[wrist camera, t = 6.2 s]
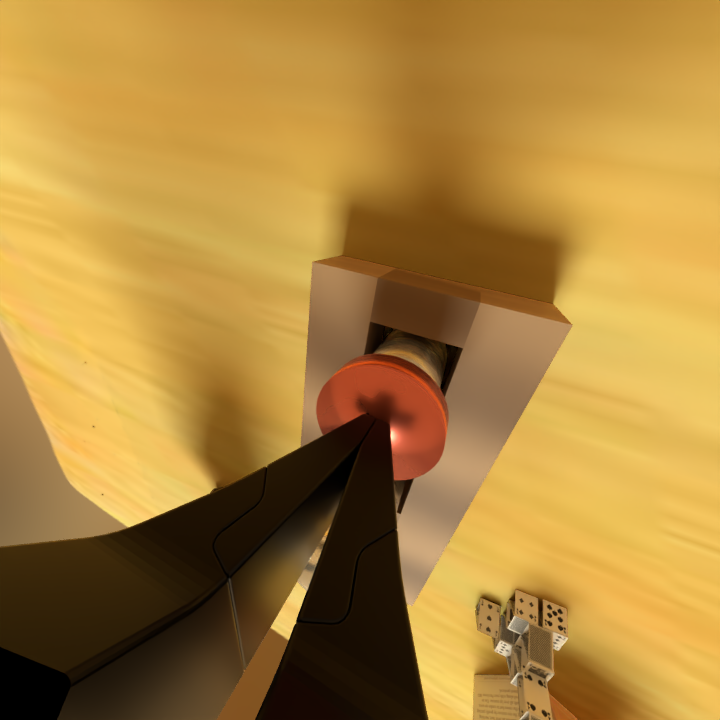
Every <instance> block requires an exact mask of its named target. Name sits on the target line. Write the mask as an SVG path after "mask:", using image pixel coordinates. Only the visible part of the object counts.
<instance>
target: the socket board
mask: <svg viewBox="0 0 720 720" xmlns="http://www.w3.org/2000/svg"><path fill="white" fill-rule="evenodd" d="M385 326H387V327H391V328H394V329H398V330H401V331H405V332H408V333H412V334H415V335H419V336H422V337H425V338H429V339H432V340H436V341H439V342H443V343H446V344H450V345H453V346H457V347H458V350H457V353H456V356H455V358H454V361H453V364H452V367H451V369H450V372H449V375H448V377H447V380H446V383H445V386H444V388H443V391H442V393H443V395H444V397H445V400H446V402H447V406H448V411H449V422H448V429H447V435H446V441H445V447H444V451H443V454H442V456H441V458H440V460H439V462H438V463H437V464H436V465H435V467H433V468H432V469H431V470H430V471H429V472H427V473H425V474H424V475H421V476H419V477H417V478H413V479H408V480H406V482H405V485H404V489H403V492H402V495H401V499H400V502H399V505H398V509H397V512H396V514H397V531H398V539H399V551H400V561H401V571H402V579H403V585H404V591H405V597H406V603H407V604H409V605H411V606H413V604H414V602H415V600H416V599H417V597H418V595H419V593H420V592H421V590H422V588H423V586H424V585H425V583H426V581H427V579H428V578H429V576H430V574H431V572H432V571H433V569H434V567H435V565H436V564H437V562H438V560H439V558H440V557H441V555H442V553H443V551H444V550H445V548H446V546H447V544H448V543H449V541H450V539H451V537H452V536H453V534H454V532H455V530H456V529H457V527H458V525H459V523H460V522H461V520H462V518H463V516H464V514H465V513H466V511H467V509H468V507H469V506H470V504H471V502H472V500H473V499H474V497H475V495H476V493H477V492H478V490H479V488H480V486H481V485H482V483H483V481H484V479H485V478H486V476H487V474H488V472H489V471H490V469H491V467H492V465H493V464H494V462H495V460H496V458H497V457H498V455H499V453H500V451H501V450H502V448H503V446H504V444H505V443H506V441H507V439H508V437H509V436H510V434H511V432H512V430H513V429H514V427H515V425H516V423H517V422H518V420H519V418H520V416H521V415H522V413H523V411H524V409H525V408H526V406H527V404H528V402H529V401H530V399H531V397H532V395H533V394H534V392H535V390H536V388H537V387H538V385H539V383H540V381H541V380H542V378H543V376H544V374H545V373H546V371H547V369H548V367H549V366H550V364H551V362H552V360H553V358H554V357H555V355H556V353H557V351H558V350H559V348H560V346H561V344H562V343H563V341H564V339H565V337H566V336H567V334H568V332H569V330H570V329H571V327H572V324H571V323H570V322H569V321H568V320H567V319H566V317H565V316H564V315H563V314H562V313H561V312H560V311H559V310H558V309H557V308H556V307H555V306H554V305H553V304H551V303H547V302H543V301H538V300H534V299H530V298H525V297H521V296H516V295H512V294H508V293H503V292H499V291H495V290H490V289H486V288H482V287H477V286H473V285H468V284H464V283H460V282H455V281H451V280H447V279H442V278H438V277H434V276H429V275H425V274H421V273H416V272H412V271H407V270H403V269H399V268H394V267H390V266H386V265H381V264H377V263H373V262H368V261H364V260H359V259H355V258H351V257H346V256H338V257H333V258H328V259H323V260H319V261H314V262H313V263H312V278H311V294H310V310H309V326H308V341H307V357H306V373H305V389H304V404H303V420H302V436H301V447H302V446H304V445H306V444H308V443H310V442H312V441H313V440H315V439H317V438H319V437H321V436H323V434H322V432H321V430H320V427H319V424H318V420H317V414H316V404H317V399H318V396H319V393H320V391H321V389H322V387H323V386H324V385H325V384H326V382H327V381H328V380H329V379H330V378H331V377H332V376H333V375H334V374H335V373H336V372H337V371H338V370H339V369H340V368H341V367H342V366H343V365H345V364H346V363H347V362H349V361H350V360H352V359H354V358H356V357H359V356H363V355H367V354H373V353H374V352H375V351H376V349H377V348H378V347H379V346H380V345H381V342H382V337H383V332H384V328H385Z"/></svg>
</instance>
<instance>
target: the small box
mask: <svg viewBox="0 0 720 720" xmlns="http://www.w3.org/2000/svg"><path fill="white" fill-rule="evenodd" d="M549 698H550V705H551V712H552V719H553V720H578V719H577V718H576V717H575V716H574V715H573V714H572V713H571V712H570V711H568V710H567V709H566V708H565V707H564V706H563V705H562V704H561V703H559V702H558V701H557V700H556V699H555V698H554V697H553V696H552V695H550V694H549ZM519 719H520V712H519V699H518V687H517V686H515V685H513V684H511V683H510V675H474V692H473V720H519Z"/></svg>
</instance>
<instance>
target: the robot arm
mask: <svg viewBox="0 0 720 720" xmlns="http://www.w3.org/2000/svg"><path fill="white" fill-rule="evenodd" d="M331 523H332V524H331ZM330 524H331V527H330V529H329V532H328V535H327V537H326V540H325V543H324V546H323V548H322V551H321V554H320V557H319V559H318V562H317V565H316V568H315V570H314V573H313V576H312V579H311V581H310V584H309V587H308V590H307V592H306V595H305V598H304V601H303V603H302V606H301V609H300V611H299V614H298V617H297V621H296V624H295V626H294V628H293V631H292V633H291V636H290V639H289V641H288V644H287V647H286V649H285V652H284V654H283V657H282V659H281V662H280V665H279V667H278V669H277V671H276V674H275V676H274V678H273V681H272V683H271V685H270V688H269V690H268V692H267V694H266V697H265V699H264V701H263V703H262V706H261V708H260V710H259V712H258V714H257V717H256V719H255V720H428V715H427V711H426V706H425V701H424V695H423V690H422V685H421V679H420V674H419V669H418V663H417V658H416V653H415V647H414V642H413V637H412V631H411V626H410V620H409V615H408V610H407V604H406V597H405V591H404V585H403V579H402V571H401V561H400V551H399V539H398V531H397V514H396V500H395V486H394V472H393V458H392V445H391V431H390V424H389V423H387V422H385V421H382V420H380V419H377V420H376V419H375V418H374V417H372V416H369V415H367V414H362V415H360V416H358V417H356V418H354V419H353V420H351V421H349V422H347V423H345V424H343V425H341V426H339V427H338V428H336V429H334V430H332V431H330V432H328V433H326V434H325V435H323V436H321V437H319V438H317V439H315V440H313V441H312V442H310V443H308V444H306V445H304V446H302V447H300V448H298V449H297V450H295V451H293V452H291V453H289V454H287V455H285V456H284V457H282V458H280V459H278V460H276V461H274V462H272V463H271V464H269V465H267V467H263V468H261V469H259V470H257V471H255V472H253V473H252V474H250V475H248V476H246V477H244V478H242V479H240V480H238V481H236V482H234V483H232V484H230V485H228V486H225V487H223V488H221V489H219V490H218V489H216V488H214V489H213V490H212V491H211V493H210V494H208V495H205V496H203V497H201V498H198V499H196V500H193V501H191V502H189V503H186V504H184V505H182V506H179V507H177V508H175V509H172V510H170V511H168V512H165V513H163V514H160V515H158V516H156V517H153V518H151V519H149V520H146V521H144V522H142V523H139V524H136V525H134V526H131V527H128V528H126V529H122V530H119V531H116V532H112V533H108V534H104V535H99V536H94V537H87V538H78V539H68V540H58V541H49V542H39V543H30V544H20V545H10V546H1V547H0V720H216V719H217V718H218V716H219V714H220V713H221V711H222V709H223V707H224V706H225V704H226V702H227V701H228V699H229V697H230V696H231V694H232V692H233V690H234V689H235V687H236V685H237V683H238V682H239V680H240V678H241V677H242V675H243V673H244V670H245V669H246V668H247V666H248V665H249V663H250V661H251V659H252V657H253V656H254V654H255V652H256V651H257V649H258V647H259V646H260V644H261V642H262V641H263V639H264V637H265V635H266V634H267V632H268V630H269V629H270V627H271V625H272V624H273V622H274V620H275V618H276V617H277V615H278V613H279V612H280V610H281V608H282V606H283V605H284V603H285V601H286V600H287V598H288V596H289V594H290V593H291V591H292V589H293V588H294V586H295V584H296V582H297V581H298V579H299V577H300V576H301V574H302V572H303V571H304V569H305V567H306V565H307V564H308V562H309V560H310V559H311V557H312V555H313V553H314V552H315V550H316V548H317V547H318V545H319V543H320V541H321V540H322V538H323V536H324V535H325V533H326V531H327V529H328V528H329V526H330Z"/></svg>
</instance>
